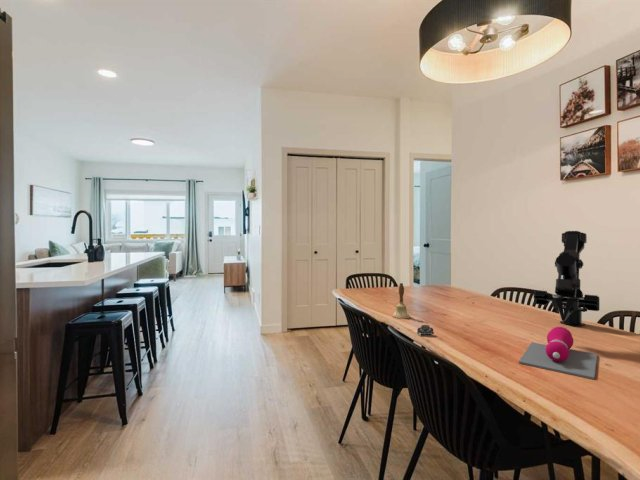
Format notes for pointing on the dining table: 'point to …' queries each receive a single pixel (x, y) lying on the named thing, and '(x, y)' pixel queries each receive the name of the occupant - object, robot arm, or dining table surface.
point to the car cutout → (425, 330)
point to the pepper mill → (559, 344)
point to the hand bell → (401, 305)
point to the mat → (574, 365)
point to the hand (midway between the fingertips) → (563, 320)
